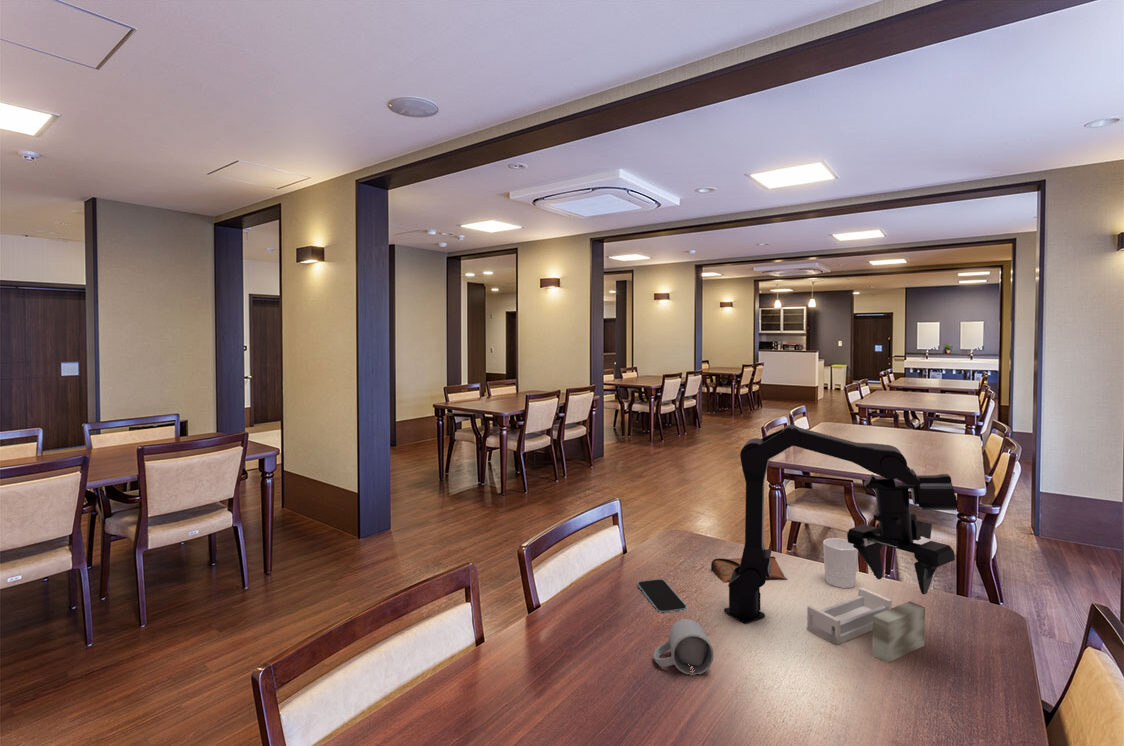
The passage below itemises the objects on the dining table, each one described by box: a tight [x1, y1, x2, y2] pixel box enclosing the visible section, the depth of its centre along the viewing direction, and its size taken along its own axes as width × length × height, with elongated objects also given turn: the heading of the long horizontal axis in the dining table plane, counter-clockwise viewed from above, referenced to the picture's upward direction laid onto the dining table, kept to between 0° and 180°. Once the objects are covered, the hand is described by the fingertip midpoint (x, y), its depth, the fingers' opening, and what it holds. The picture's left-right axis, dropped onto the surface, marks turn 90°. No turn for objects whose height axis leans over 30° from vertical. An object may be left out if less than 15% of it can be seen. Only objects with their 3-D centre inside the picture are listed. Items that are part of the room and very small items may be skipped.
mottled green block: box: [871, 600, 926, 664], centre depth 108 cm, size 12×3×8 cm, turn 117°
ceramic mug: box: [653, 618, 714, 675], centre depth 105 cm, size 11×8×8 cm
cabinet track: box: [806, 587, 893, 646], centre depth 118 cm, size 18×7×5 cm, turn 117°
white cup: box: [822, 537, 859, 589], centre depth 138 cm, size 8×8×10 cm
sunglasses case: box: [710, 555, 788, 584], centre depth 144 cm, size 18×7×7 cm, turn 95°
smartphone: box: [637, 578, 687, 613], centre depth 132 cm, size 7×1×15 cm
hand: (901, 586), depth 110 cm, fingers open, 9 cm apart
